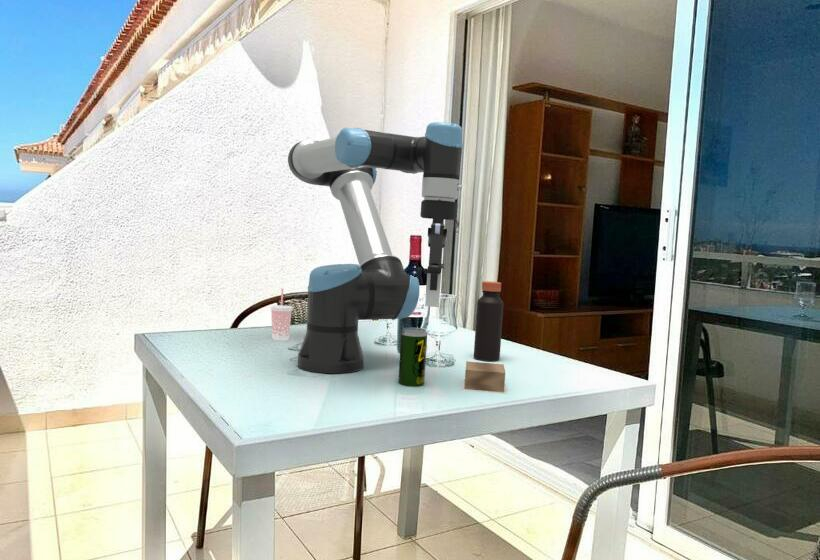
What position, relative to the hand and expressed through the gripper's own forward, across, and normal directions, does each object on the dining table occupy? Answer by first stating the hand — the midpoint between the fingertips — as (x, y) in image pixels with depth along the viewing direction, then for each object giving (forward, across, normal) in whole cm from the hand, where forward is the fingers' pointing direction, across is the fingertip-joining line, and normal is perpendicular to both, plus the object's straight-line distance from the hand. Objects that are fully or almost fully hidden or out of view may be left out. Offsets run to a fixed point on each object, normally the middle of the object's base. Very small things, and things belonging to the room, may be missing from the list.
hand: (432, 302), depth 127 cm
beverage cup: (+19, +38, +42) cm, 59 cm away
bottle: (+18, +30, -15) cm, 38 cm away
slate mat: (+17, -1, -9) cm, 20 cm away
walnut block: (+17, -1, -12) cm, 21 cm away
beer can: (+18, -3, +3) cm, 18 cm away
